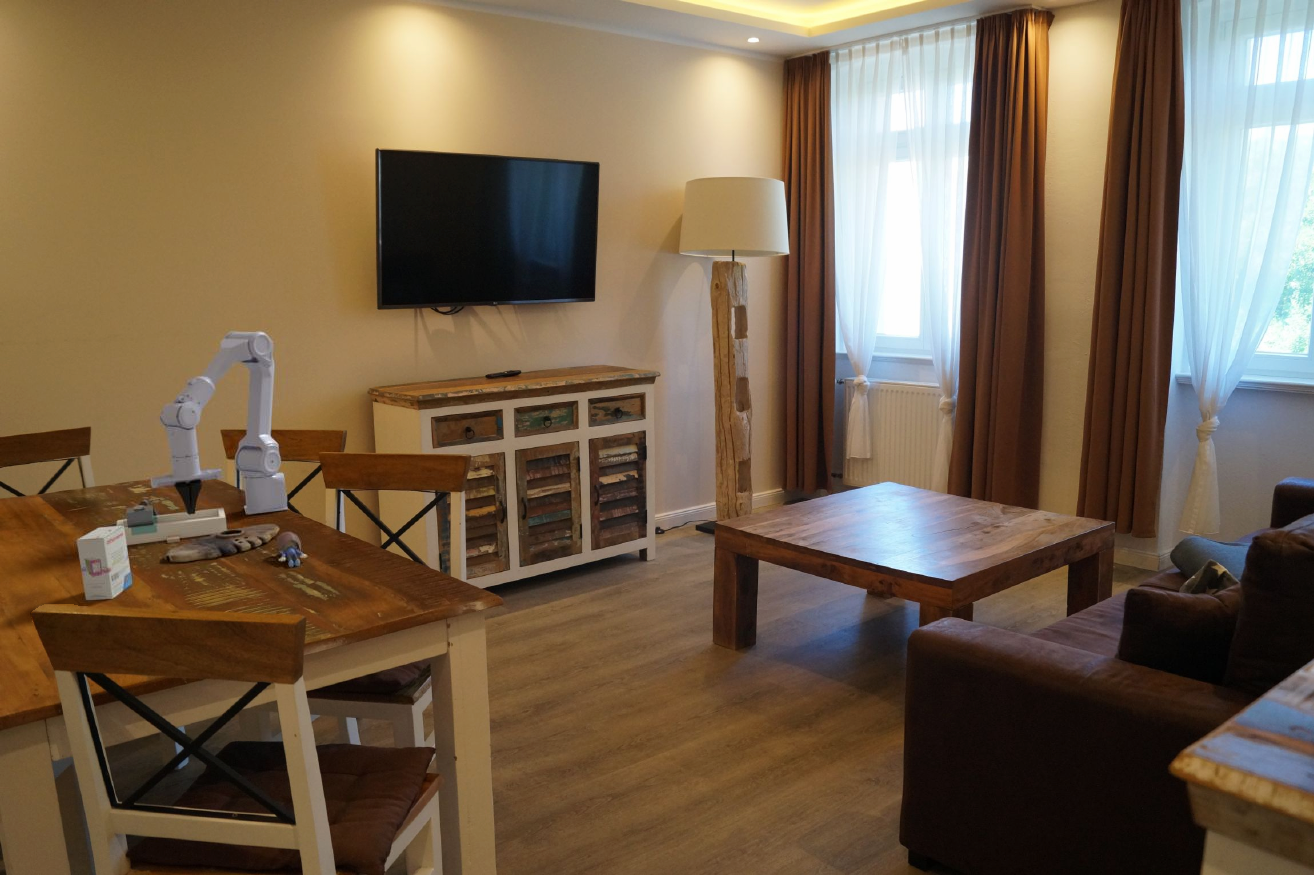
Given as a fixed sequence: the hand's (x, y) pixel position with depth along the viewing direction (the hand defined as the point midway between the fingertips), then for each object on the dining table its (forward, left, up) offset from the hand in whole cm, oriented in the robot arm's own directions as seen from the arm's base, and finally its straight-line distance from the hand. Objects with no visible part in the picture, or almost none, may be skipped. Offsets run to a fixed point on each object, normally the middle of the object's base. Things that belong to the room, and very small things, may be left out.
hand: (191, 513), depth 221 cm
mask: (-6, +18, -5) cm, 19 cm away
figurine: (-18, +34, -5) cm, 39 cm away
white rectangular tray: (+4, +2, -4) cm, 6 cm away
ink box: (+15, +39, -4) cm, 42 cm away
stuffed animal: (+10, -13, -5) cm, 17 cm away
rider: (+10, 0, -2) cm, 11 cm away
